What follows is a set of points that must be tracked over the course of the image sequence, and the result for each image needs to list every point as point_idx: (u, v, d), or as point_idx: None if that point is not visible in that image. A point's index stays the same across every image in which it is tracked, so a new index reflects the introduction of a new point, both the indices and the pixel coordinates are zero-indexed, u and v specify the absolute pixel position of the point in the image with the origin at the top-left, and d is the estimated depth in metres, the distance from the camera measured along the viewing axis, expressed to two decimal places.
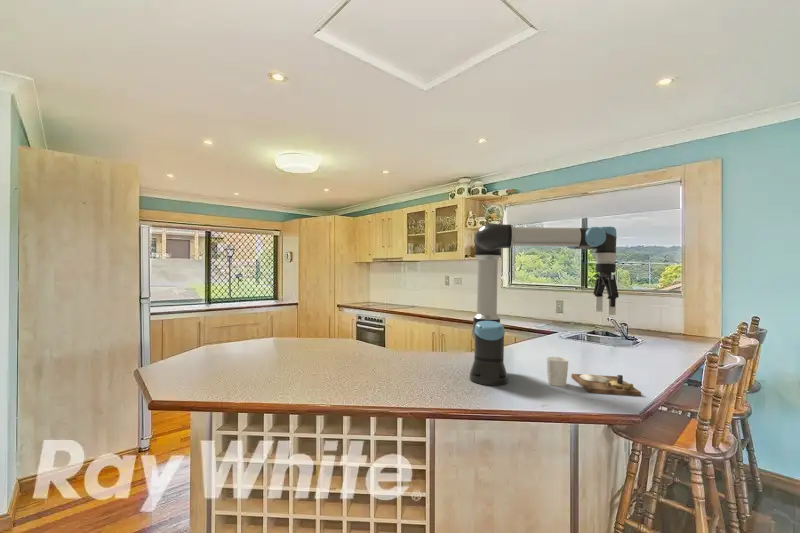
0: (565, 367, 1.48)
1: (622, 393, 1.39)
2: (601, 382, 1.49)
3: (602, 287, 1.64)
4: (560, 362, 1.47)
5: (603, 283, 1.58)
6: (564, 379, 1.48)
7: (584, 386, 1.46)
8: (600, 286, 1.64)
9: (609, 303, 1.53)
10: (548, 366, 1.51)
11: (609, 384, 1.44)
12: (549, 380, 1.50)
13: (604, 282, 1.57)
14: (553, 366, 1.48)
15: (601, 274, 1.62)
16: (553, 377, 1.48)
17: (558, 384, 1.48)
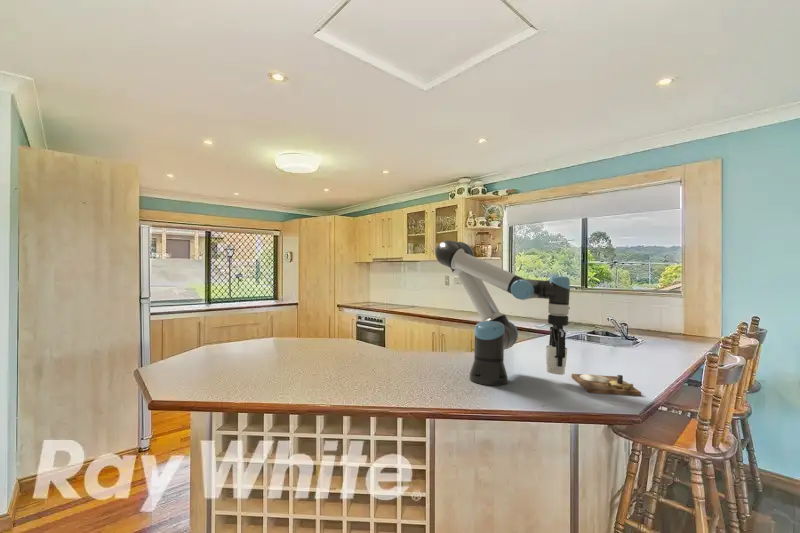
0: None
1: (622, 393, 1.39)
2: (601, 382, 1.49)
3: (556, 341, 1.54)
4: None
5: (554, 337, 1.50)
6: (563, 367, 1.48)
7: (584, 386, 1.46)
8: (553, 339, 1.54)
9: (556, 362, 1.47)
10: (547, 354, 1.51)
11: (609, 384, 1.44)
12: (548, 368, 1.51)
13: (554, 337, 1.49)
14: (552, 354, 1.48)
15: (553, 324, 1.53)
16: (552, 365, 1.49)
17: None
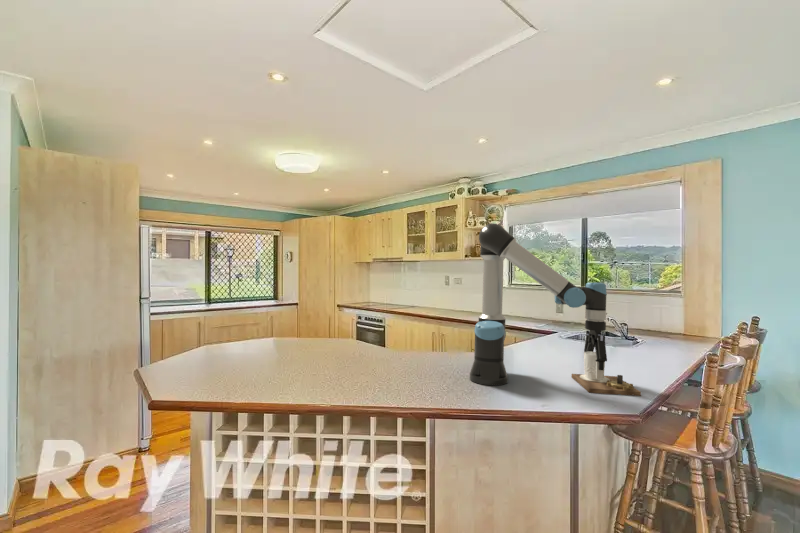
0: None
1: (622, 393, 1.39)
2: (601, 382, 1.49)
3: (592, 345, 1.58)
4: None
5: (592, 342, 1.52)
6: None
7: (584, 386, 1.46)
8: (590, 344, 1.57)
9: (597, 366, 1.48)
10: (585, 360, 1.54)
11: (609, 384, 1.44)
12: (586, 374, 1.54)
13: (593, 342, 1.51)
14: (591, 360, 1.51)
15: (591, 330, 1.56)
16: (591, 371, 1.52)
17: (596, 378, 1.51)
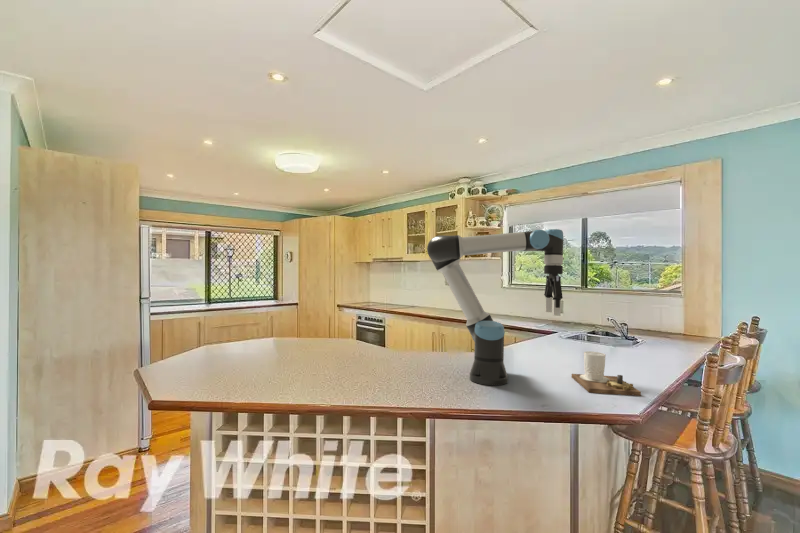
0: (603, 361, 1.51)
1: (622, 393, 1.39)
2: (601, 382, 1.49)
3: (551, 288, 1.68)
4: (598, 356, 1.50)
5: (550, 284, 1.62)
6: (602, 373, 1.51)
7: (584, 386, 1.46)
8: (549, 287, 1.68)
9: (554, 304, 1.57)
10: (585, 360, 1.54)
11: (609, 384, 1.44)
12: (586, 374, 1.54)
13: (551, 283, 1.61)
14: (591, 360, 1.51)
15: (549, 276, 1.66)
16: (591, 371, 1.52)
17: (596, 378, 1.51)
